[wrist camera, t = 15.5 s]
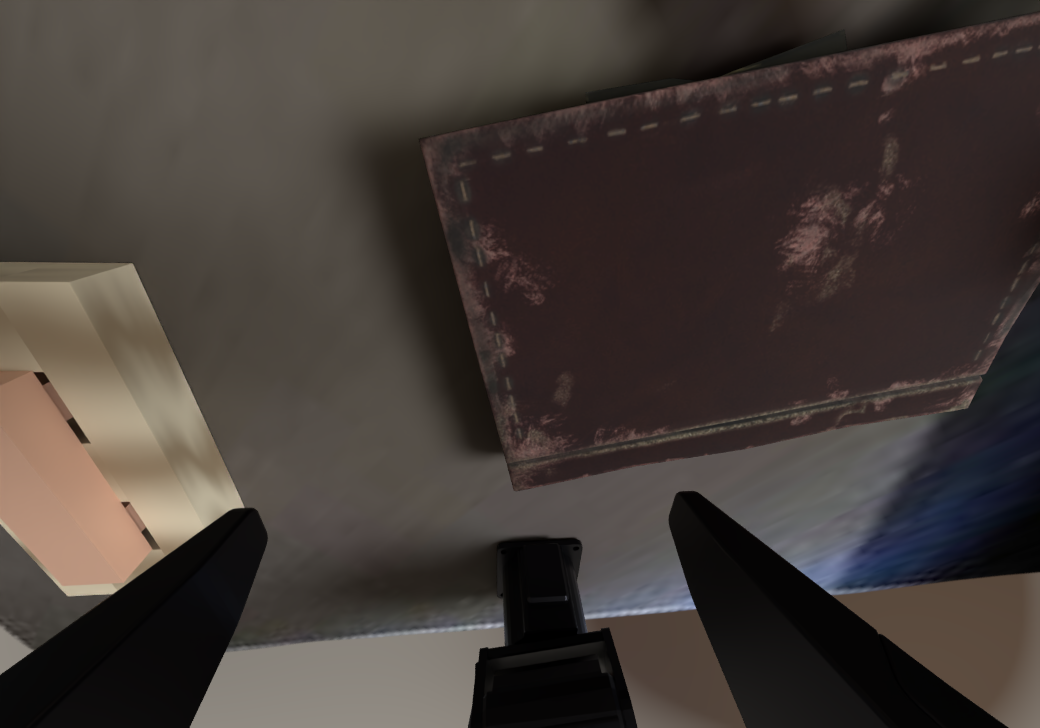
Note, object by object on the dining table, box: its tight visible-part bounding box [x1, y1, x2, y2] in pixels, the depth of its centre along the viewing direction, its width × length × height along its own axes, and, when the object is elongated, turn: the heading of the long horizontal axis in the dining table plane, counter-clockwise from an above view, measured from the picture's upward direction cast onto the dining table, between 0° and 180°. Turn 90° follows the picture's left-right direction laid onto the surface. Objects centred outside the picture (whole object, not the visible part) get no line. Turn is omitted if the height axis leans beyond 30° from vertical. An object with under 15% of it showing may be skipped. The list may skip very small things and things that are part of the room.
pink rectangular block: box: [0, 371, 152, 586], centre depth 19 cm, size 12×3×5 cm, turn 178°
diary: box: [419, 11, 1040, 491], centre depth 18 cm, size 19×25×5 cm
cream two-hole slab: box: [0, 262, 245, 596], centre depth 20 cm, size 20×10×3 cm, turn 178°
